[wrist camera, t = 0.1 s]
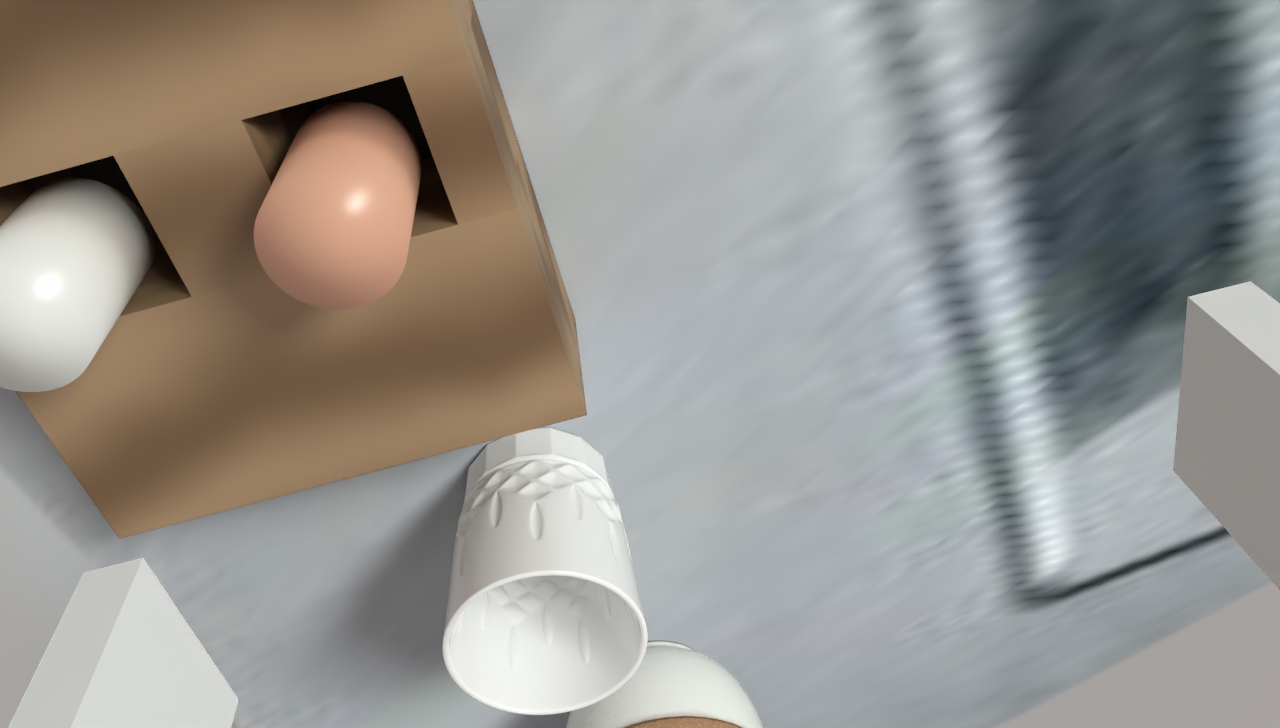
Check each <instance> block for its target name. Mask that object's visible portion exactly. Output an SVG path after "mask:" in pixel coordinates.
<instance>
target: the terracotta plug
mask: <svg viewBox="0 0 1280 728" xmlns="http://www.w3.org/2000/svg"><path fill="white" fill-rule="evenodd" d="M421 173H422V160H421V154H420V150H419V147H418V145H417V142H416V140H415V138H414V136H413V135H412V133H411V132H410V130H409V129H408V128H407V127H406V125H405V124H404V123H403V122H402V121H401V120H400V119H398V118H397V117H396V116H395V115H393V114H392V113H390V112H389V111H387V110H385V109H383V108H381V107H379V106H376V105H373V104H370V103H366V102H360V101H341V102H336V103H332V104H329V105H326V106H324V107H322V108H320V109H318V110H317V111H315V112H314V113H312V114H311V115H310V116H309V117H308V118H307V119H306V120H305V121H304V122H303V124H302V125H301V126H300V128H299V130H298V132H297V134H296V136H295V138H294V140H293V142H292V144H291V146H290V148H289V150H288V152H287V154H286V156H285V158H284V160H283V162H282V165H281V167H280V169H279V171H278V173H277V175H276V177H275V179H274V181H273V183H272V185H271V187H270V189H269V191H268V193H267V195H266V197H265V199H264V201H263V204H262V206H261V208H260V210H259V212H258V215H257V217H256V220H255V226H254V245H255V250H256V253H257V256H258V259H259V261H260V264H261V265H262V267H263V269H264V270H265V272H266V273H267V275H268V276H269V277H270V279H271V280H272V281H273V282H274V283H275V284H276V285H277V286H278V287H279V288H281V289H282V290H283V291H284V292H286V293H287V294H289V295H290V296H292V297H293V298H295V299H297V300H299V301H301V302H303V303H306V304H309V305H312V306H315V307H319V308H325V309H336V310H343V309H352V308H357V307H361V306H364V305H367V304H370V303H372V302H374V301H376V300H378V299H379V298H381V297H382V296H384V295H385V294H386V293H387V292H388V291H390V290H391V289H392V287H393V286H394V285H395V284H396V283H397V281H398V280H399V278H400V277H401V275H402V272H403V270H404V268H405V264H406V261H407V255H408V250H409V244H410V238H411V232H412V226H413V221H414V215H415V209H416V203H417V197H418V192H419V186H420V180H421Z"/></svg>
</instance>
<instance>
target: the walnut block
mask: <svg viewBox="0 0 1280 728" xmlns="http://www.w3.org/2000/svg"><path fill="white" fill-rule="evenodd" d="M399 76H403V78H404V81H405V83H406V86H407V89H408V91H409V94H410V97H411V99H412V102H413V105H414V107H415V110H416V113H417V116H418V118H419V121H420V124H421V126H422V129H423V132H424V134H425V137H426V140H427V142H428V145H429V148H430V150H431V153H432V157H428V158H425V159H421V160H422V173H421V180H420V186H419V192H418V197H417V203H416V209H415V215H414V221H413V226H412V232H411V238H410V244H409V250H408V255H407V261H406V264H405V268H404V270H403V272H402V275H401V277H400V278H399V280H398V281H397V283H396V284H395V285H394V286H393V287H392V289H391V290H390V291H388V292H387V293H386V294H385V295H384V296H382V297H381V298H379V299H378V300H376V301H374V302H372V303H370V304H367V305H364V306H361V307H357V308H352V309H343V310H336V309H325V308H319V307H315V306H312V305H309V304H306V303H303V302H301V301H299V300H297V299H295V298H293V297H292V296H290V295H289V294H287V293H286V292H284V291H283V290H282V289H281V288H279V287H278V286H277V285H276V284H275V283H274V282H273V281H272V280H271V279H270V277H269V276H268V275H267V273H266V272H265V270H264V269H263V267H262V265H261V264H260V261H259V259H258V256H257V253H256V250H255V245H254V226H255V220H256V217H257V215H258V212H259V210H260V208H261V206H262V204H263V201H264V199H265V197H266V195H267V193H268V191H269V189H270V187H271V185H272V183H273V181H274V179H275V177H276V175H277V173H278V171H279V169H280V167H281V165H282V162H283V160H284V158H285V156H286V154H287V152H288V150H289V148H290V146H291V144H292V142H293V140H294V138H295V136H296V134H297V132H298V130H299V128H300V126H301V125H302V124H303V122H304V121H305V120H306V119H307V118H308V117H309V116H310V115H309V113H308V111H307V109H306V106H305V104H304V103H305V102H309V101H312V100H316V99H320V98H323V97H327V96H330V95H334V94H338V93H341V92H345V91H348V90H352V89H356V88H359V87H363V86H366V85H370V84H374V83H377V82H381V81H385V80H388V79H392V78H395V77H399ZM110 156H114V158H115V160H116V161H117V163H118V165H119V167H120V169H121V170H122V172H123V174H124V176H125V178H126V179H127V181H128V183H129V185H130V187H131V188H132V190H133V192H134V194H135V196H136V197H137V199H138V201H139V203H140V205H141V206H142V208H143V210H144V212H145V214H146V215H147V217H148V219H149V221H150V223H151V224H152V226H153V228H154V230H155V233H154V237H155V249H156V250H155V257H154V260H153V263H152V265H151V267H150V269H149V270H148V272H147V274H146V275H145V277H144V278H143V280H142V281H141V283H140V285H139V286H138V288H137V289H136V291H135V293H134V294H133V296H132V297H131V299H130V300H129V302H128V304H127V305H126V307H125V308H124V310H123V311H122V313H121V315H120V316H119V318H118V319H117V321H116V323H115V324H114V326H113V327H112V329H111V330H110V332H109V334H108V335H107V337H106V338H105V340H104V341H103V343H102V345H101V346H100V348H99V349H98V351H97V352H96V354H95V356H94V357H93V359H92V360H91V362H90V364H89V365H88V367H87V368H86V369H85V371H84V372H83V373H82V374H81V375H80V376H79V377H78V378H77V379H75V380H74V381H72V382H71V383H69V384H67V385H65V386H63V387H60V388H57V389H54V390H49V391H43V392H21V391H16V393H17V394H18V396H19V397H20V399H21V400H22V401H23V403H24V404H25V406H26V407H27V408H28V410H29V411H30V413H31V414H32V415H33V417H34V418H35V420H36V421H37V423H38V424H39V425H40V427H41V428H42V430H43V431H44V432H45V434H46V435H47V437H48V438H49V440H50V441H51V442H52V444H53V445H54V447H55V448H56V449H57V451H58V452H59V454H60V455H61V456H62V458H63V459H64V461H65V462H66V464H67V465H68V466H69V468H70V469H71V471H72V472H73V473H74V475H75V476H76V478H77V479H78V481H79V482H80V483H81V485H82V486H83V488H84V489H85V490H86V492H87V493H88V495H89V496H90V497H91V499H92V500H93V502H94V503H95V505H96V506H97V507H98V509H99V510H100V512H101V513H102V514H103V516H104V517H105V519H106V520H107V522H108V523H109V524H110V526H111V527H112V529H113V530H114V531H115V533H116V534H117V536H118V537H119V538H124V537H128V536H131V535H135V534H139V533H143V532H147V531H150V530H154V529H158V528H162V527H165V526H169V525H173V524H177V523H181V522H184V521H188V520H192V519H196V518H199V517H203V516H207V515H211V514H215V513H218V512H222V511H226V510H230V509H233V508H237V507H241V506H245V505H249V504H252V503H256V502H260V501H264V500H267V499H271V498H275V497H279V496H283V495H286V494H290V493H294V492H298V491H302V490H305V489H309V488H313V487H317V486H320V485H324V484H328V483H332V482H336V481H339V480H343V479H347V478H351V477H354V476H358V475H362V474H366V473H370V472H373V471H377V470H381V469H385V468H388V467H392V466H396V465H400V464H404V463H407V462H411V461H415V460H419V459H422V458H426V457H430V456H434V455H438V454H441V453H445V452H449V451H453V450H457V449H460V448H464V447H468V446H472V445H475V444H479V443H483V442H487V441H491V440H494V439H498V438H502V437H506V436H509V435H513V434H517V433H521V432H525V431H528V430H532V429H536V428H540V427H543V426H547V425H551V424H555V423H559V422H562V421H566V420H570V419H574V418H577V417H581V416H585V415H587V412H586V404H585V396H584V387H583V379H582V371H581V363H580V355H579V347H578V338H577V330H576V322H575V318H574V315H573V312H572V309H571V305H570V302H569V299H568V296H567V293H566V290H565V287H564V284H563V280H562V277H561V274H560V271H559V268H558V265H557V262H556V259H555V256H554V252H553V249H552V246H551V243H550V240H549V237H548V234H547V231H546V227H545V224H544V221H543V218H542V215H541V212H540V209H539V206H538V203H537V199H536V196H535V193H534V190H533V187H532V184H531V181H530V178H529V174H528V171H527V168H526V165H525V162H524V159H523V156H522V153H521V150H520V146H519V143H518V140H517V137H516V134H515V131H514V128H513V125H512V122H511V118H510V115H509V112H508V109H507V106H506V103H505V100H504V97H503V93H502V90H501V87H500V84H499V81H498V78H497V75H496V72H495V69H494V65H493V62H492V59H491V56H490V53H489V50H488V47H487V44H486V40H485V37H484V34H483V31H482V28H481V25H480V22H479V19H478V16H477V12H476V9H475V6H474V3H473V0H0V226H1V225H2V224H3V223H4V222H5V221H6V219H7V218H8V217H9V216H10V215H11V214H12V213H13V212H14V211H15V210H16V209H17V208H18V207H19V206H20V205H21V204H22V203H23V202H24V201H25V200H26V199H27V198H28V197H29V196H30V195H31V194H32V193H33V192H34V191H35V190H36V189H38V188H39V187H40V186H42V185H44V184H46V183H48V182H51V181H54V180H58V179H63V178H75V177H74V175H73V173H72V172H71V170H70V168H71V167H74V166H78V165H81V164H85V163H89V162H92V161H96V160H99V159H103V158H107V157H110Z"/></svg>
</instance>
